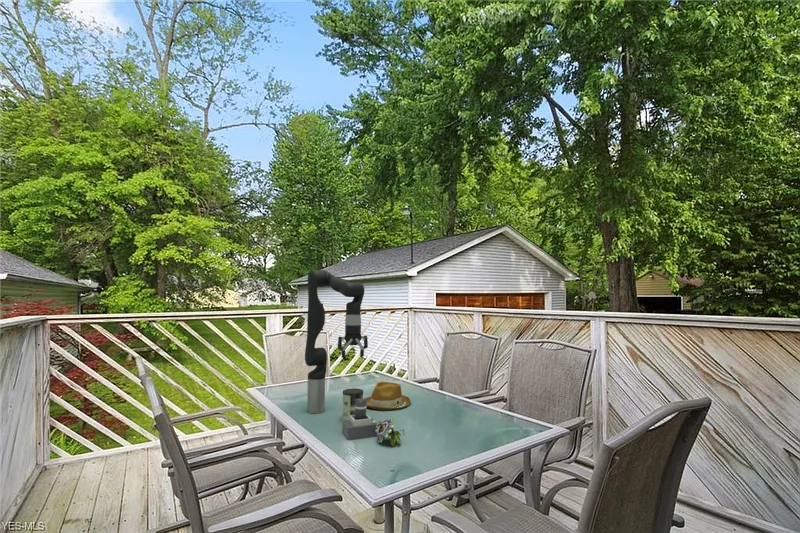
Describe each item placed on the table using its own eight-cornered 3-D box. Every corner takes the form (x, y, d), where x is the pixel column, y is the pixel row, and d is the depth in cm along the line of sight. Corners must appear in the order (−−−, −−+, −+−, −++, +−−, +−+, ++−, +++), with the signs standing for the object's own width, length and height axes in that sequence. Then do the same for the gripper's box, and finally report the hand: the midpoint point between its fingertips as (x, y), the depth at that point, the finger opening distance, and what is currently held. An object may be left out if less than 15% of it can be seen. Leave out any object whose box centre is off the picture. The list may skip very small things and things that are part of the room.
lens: (353, 423, 177) (353, 401, 177) (356, 420, 182) (357, 398, 182) (364, 424, 176) (364, 401, 176) (367, 421, 181) (367, 398, 181)
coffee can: (365, 416, 202) (365, 388, 203) (359, 423, 192) (359, 393, 193) (346, 415, 204) (346, 387, 205) (339, 421, 194) (339, 392, 195)
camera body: (342, 432, 180) (342, 415, 180) (371, 428, 185) (371, 412, 186) (347, 440, 171) (347, 422, 171) (378, 435, 176) (378, 418, 176)
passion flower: (379, 456, 168) (368, 428, 173) (401, 445, 173) (389, 419, 179) (388, 448, 160) (376, 420, 165) (410, 438, 165) (398, 411, 171)
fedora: (351, 405, 223) (351, 384, 224) (386, 395, 245) (386, 375, 245) (386, 415, 206) (386, 392, 206) (420, 403, 227) (420, 382, 228)
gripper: (365, 323, 197) (364, 356, 196) (336, 323, 191) (336, 357, 191) (369, 324, 190) (369, 358, 189) (340, 325, 184) (339, 360, 184)
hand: (352, 358), depth 190 cm, fingers open, 8 cm apart
